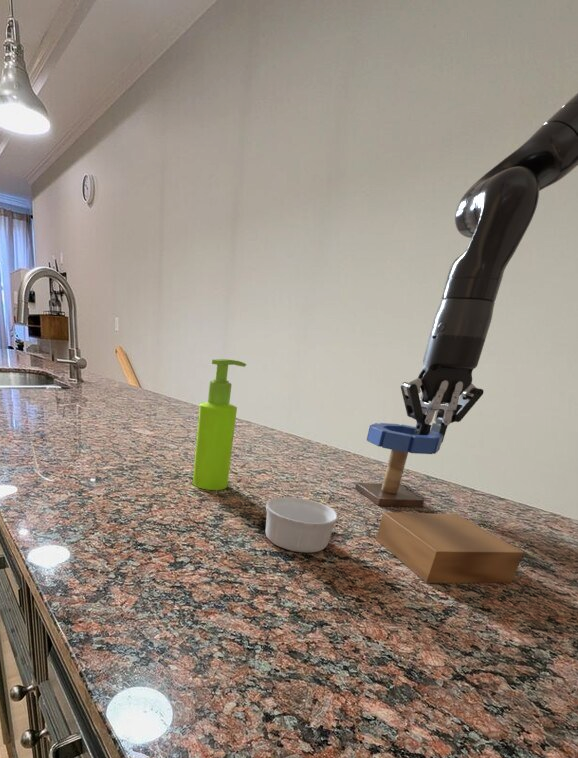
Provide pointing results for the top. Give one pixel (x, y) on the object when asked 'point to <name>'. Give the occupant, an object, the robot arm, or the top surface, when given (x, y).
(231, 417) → the soap dispenser
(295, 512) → the ramekin
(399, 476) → the post
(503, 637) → the top surface
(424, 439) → the ring
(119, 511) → the top surface
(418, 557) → the platform
